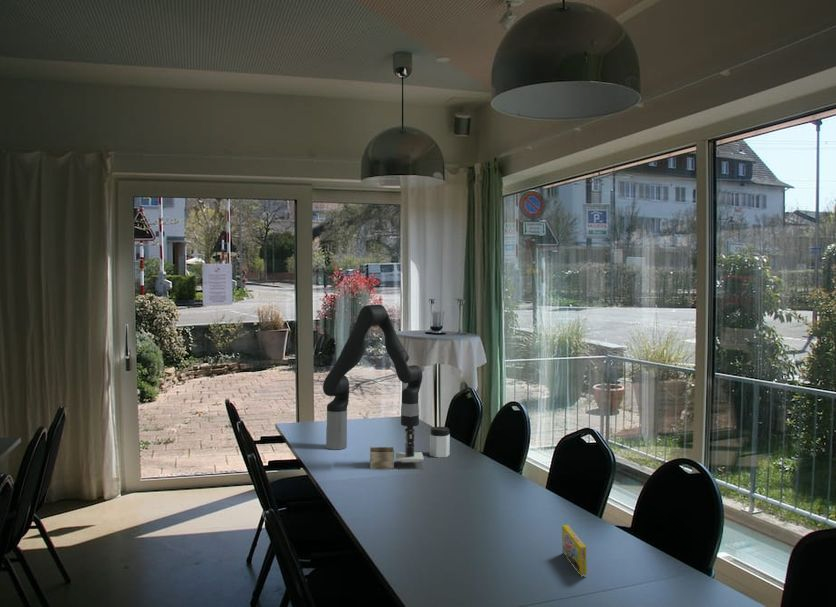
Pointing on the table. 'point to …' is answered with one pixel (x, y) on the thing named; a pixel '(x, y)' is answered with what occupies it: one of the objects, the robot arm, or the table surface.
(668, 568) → the table surface
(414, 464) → the mat
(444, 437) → the jar
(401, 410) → the robot arm
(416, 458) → the lid
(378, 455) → the crate
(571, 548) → the candy box
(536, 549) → the table surface
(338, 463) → the table surface
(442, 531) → the table surface
